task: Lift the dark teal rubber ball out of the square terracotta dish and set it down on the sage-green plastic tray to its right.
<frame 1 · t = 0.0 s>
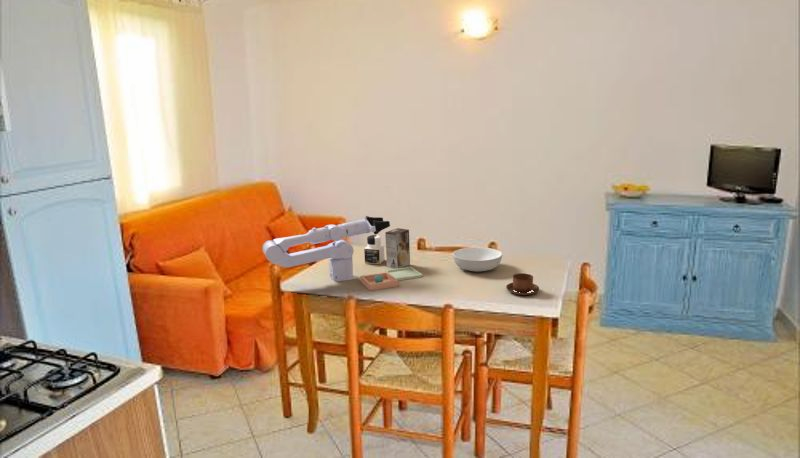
hand: (386, 221, 228), 22 cm above the table, tool horizontal, fingers open, 7 cm apart
ball: (378, 283, 217), resting on dish
medicine bottle: (374, 262, 248), on the table
dish: (379, 284, 217), on the table
serving bowl: (477, 269, 235), on the table
tray: (403, 275, 228), on the table
coffee box: (398, 266, 240), on the table
cup and saucer: (522, 292, 206), on the table
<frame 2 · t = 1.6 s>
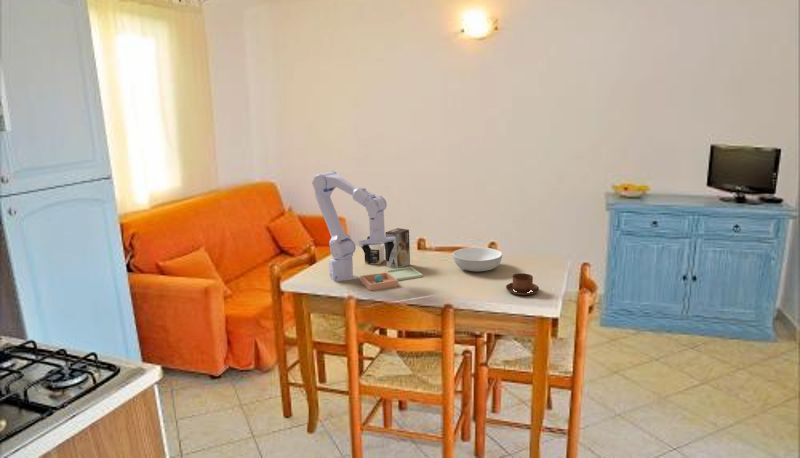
hand: (378, 262, 215), 9 cm above the table, tool pointing down, fingers open, 7 cm apart
nothing on the table moved.
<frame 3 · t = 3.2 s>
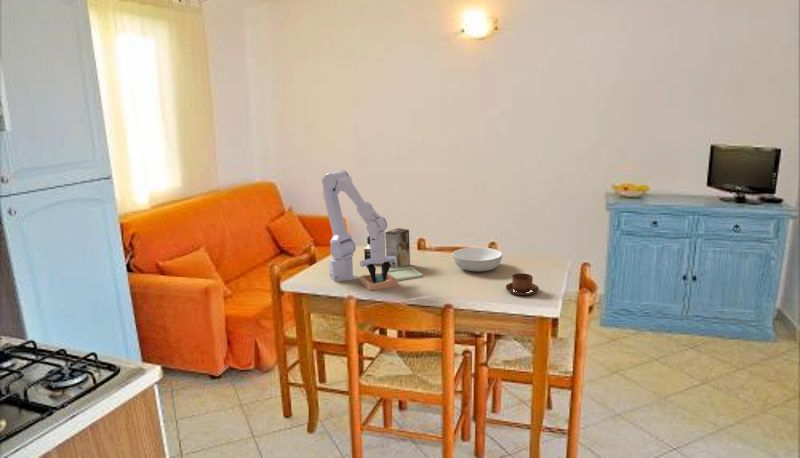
hand: (378, 281, 217), 1 cm above the table, tool pointing down, fingers closed on ball, 4 cm apart
ball: (378, 283, 217), resting on dish, touching gripper
everything else where it was.
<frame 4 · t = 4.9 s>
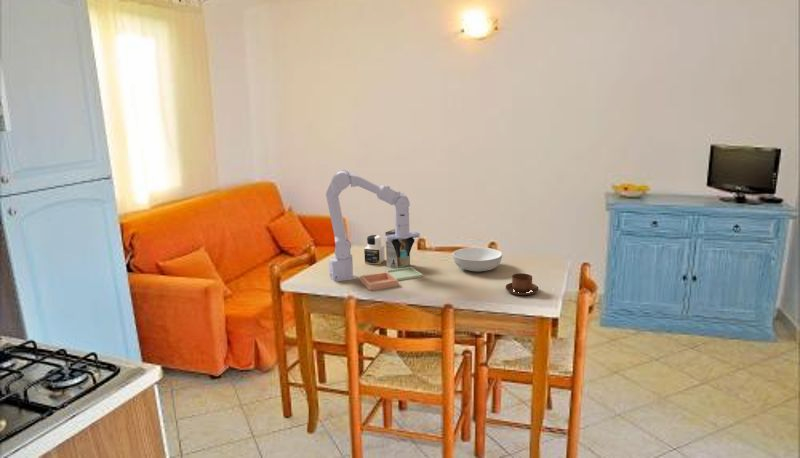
hand: (403, 256, 226), 8 cm above the table, tool pointing down, fingers closed on ball, 4 cm apart
ball: (403, 258, 226), point 7 cm above the table, touching gripper
everything else where it was.
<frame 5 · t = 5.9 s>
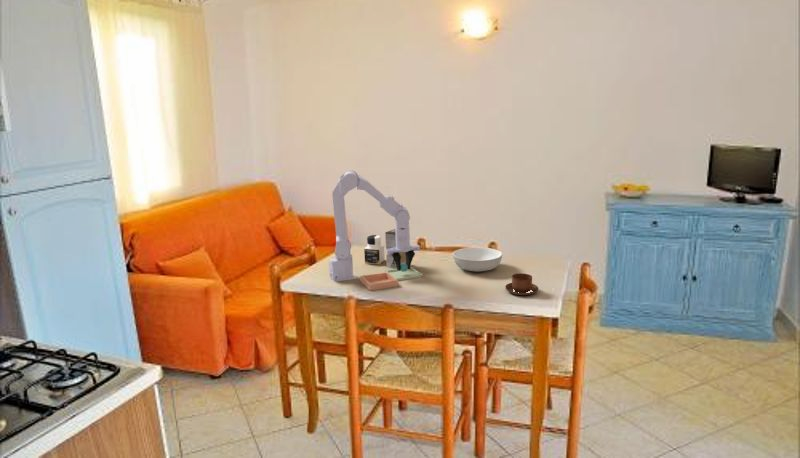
hand: (403, 269, 227), 3 cm above the table, tool pointing down, fingers closed on ball, 4 cm apart
ball: (403, 271, 227), point 2 cm above the table, touching gripper
everything else where it was.
when the fingers open (2 cm above the table, at t = 6.8 s): ball stays where it is, resting on tray.
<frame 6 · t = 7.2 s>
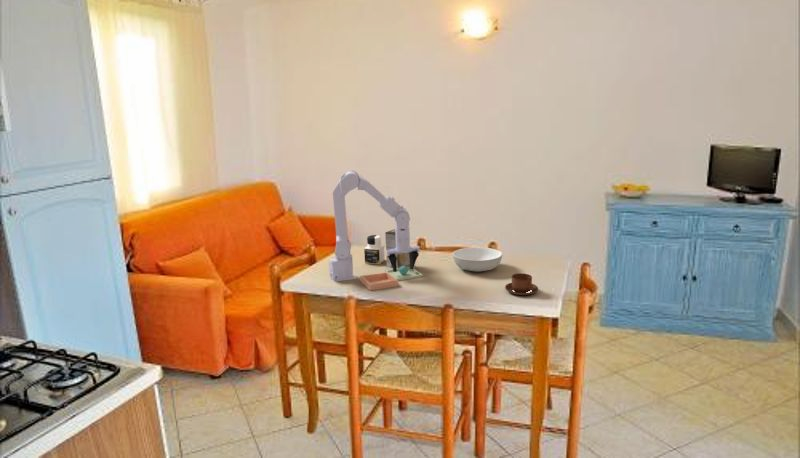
hand: (403, 270, 227), 2 cm above the table, tool pointing down, fingers open, 7 cm apart
ball: (403, 274, 227), point 1 cm above the table, touching tray
everything else where it was.
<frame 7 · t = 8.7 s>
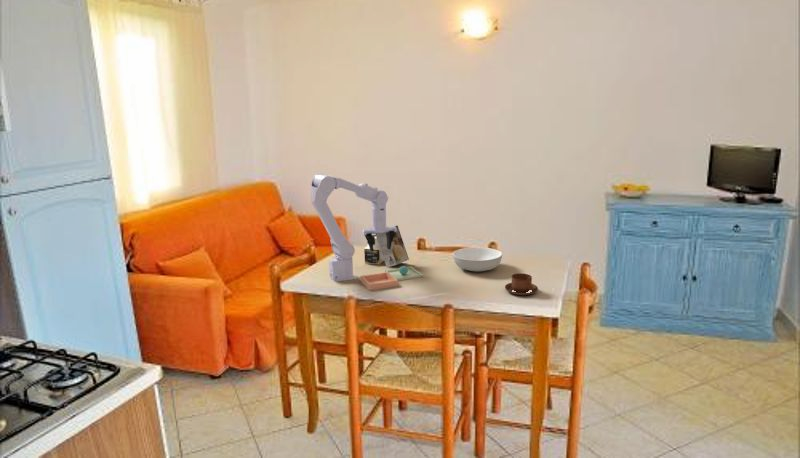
hand: (380, 249, 232), 9 cm above the table, tool pointing down, fingers open, 7 cm apart
coffee box: (398, 264, 240), point 1 cm above the table
everything else where it was.
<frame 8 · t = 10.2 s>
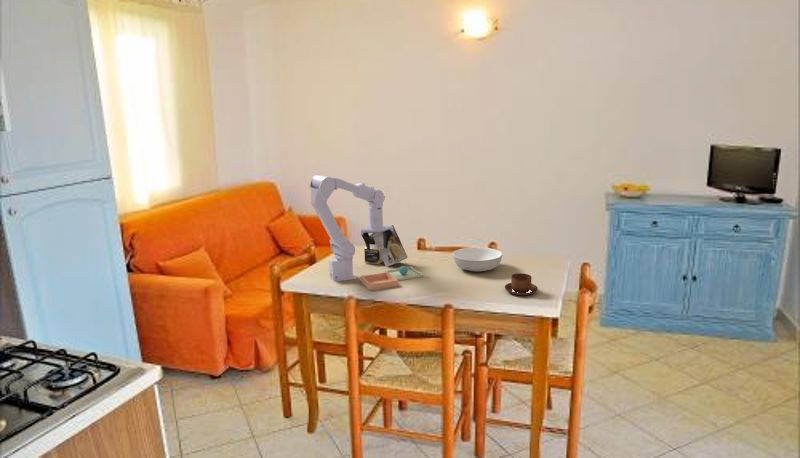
hand: (376, 248, 234), 9 cm above the table, tool pointing down, fingers open, 7 cm apart
medicine bottle: (374, 262, 248), on the table, touching coffee box
coffee box: (397, 263, 240), point 1 cm above the table, touching gripper, medicine bottle
everything else where it was.
at the end: ball inside the target area on the tray (0.1 cm from its centre), point 0.6 cm above the tray's base; the gripper is holding nothing; ball touching tray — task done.
